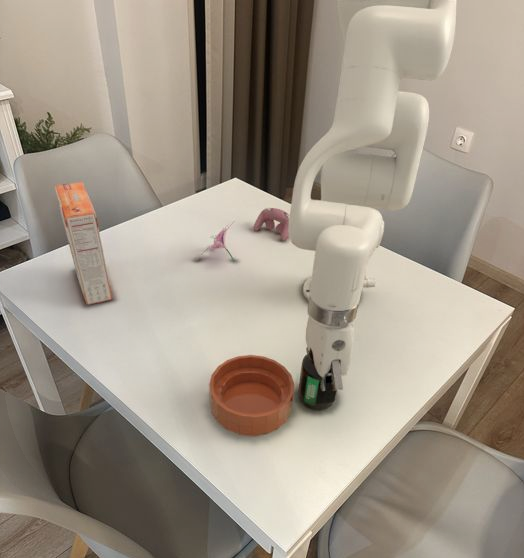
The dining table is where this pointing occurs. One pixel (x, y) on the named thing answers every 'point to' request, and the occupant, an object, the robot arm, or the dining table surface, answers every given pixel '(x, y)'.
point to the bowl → (251, 395)
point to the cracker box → (84, 242)
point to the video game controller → (268, 218)
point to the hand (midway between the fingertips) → (318, 385)
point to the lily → (219, 241)
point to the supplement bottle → (311, 384)
